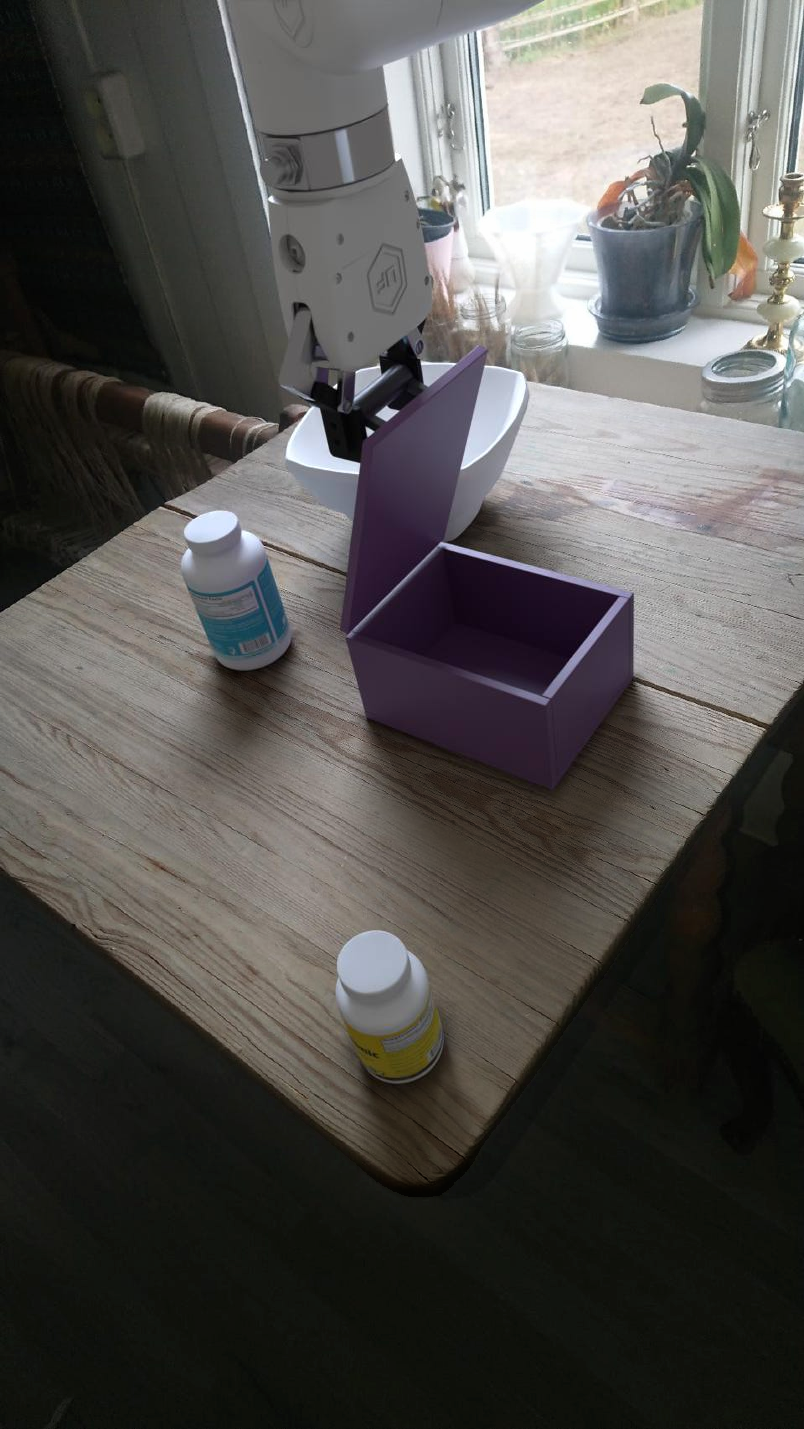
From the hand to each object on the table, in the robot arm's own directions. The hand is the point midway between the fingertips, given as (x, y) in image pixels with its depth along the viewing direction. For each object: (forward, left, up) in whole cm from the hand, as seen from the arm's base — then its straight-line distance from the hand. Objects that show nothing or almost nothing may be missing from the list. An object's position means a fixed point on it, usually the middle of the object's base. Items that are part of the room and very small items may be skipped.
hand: (379, 431), depth 68 cm
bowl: (+14, -20, -23) cm, 34 cm away
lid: (-2, 0, -5) cm, 6 cm away
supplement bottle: (-18, +29, -23) cm, 41 cm away
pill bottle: (+17, +4, -23) cm, 29 cm away
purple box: (-7, 0, -23) cm, 24 cm away
